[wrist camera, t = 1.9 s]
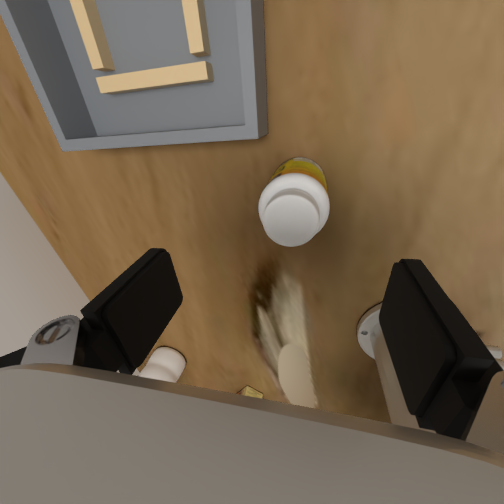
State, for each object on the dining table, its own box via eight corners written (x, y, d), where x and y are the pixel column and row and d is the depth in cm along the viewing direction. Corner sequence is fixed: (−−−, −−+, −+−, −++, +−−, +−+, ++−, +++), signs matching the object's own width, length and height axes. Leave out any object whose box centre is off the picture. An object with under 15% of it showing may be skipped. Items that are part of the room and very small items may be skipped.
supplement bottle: (285, 146, 23) (269, 167, 14) (335, 170, 23) (350, 204, 14) (264, 196, 26) (240, 237, 17) (308, 217, 26) (307, 267, 18)
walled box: (253, -276, 13) (224, -469, 8) (268, 133, 23) (258, 138, 18) (-9, -149, 17) (-112, -233, 13) (101, 145, 27) (62, 151, 23)
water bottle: (193, 362, 47) (99, 561, 26) (173, 370, 50) (76, 551, 30) (168, 341, 45) (45, 538, 24) (149, 350, 48) (26, 530, 28)
